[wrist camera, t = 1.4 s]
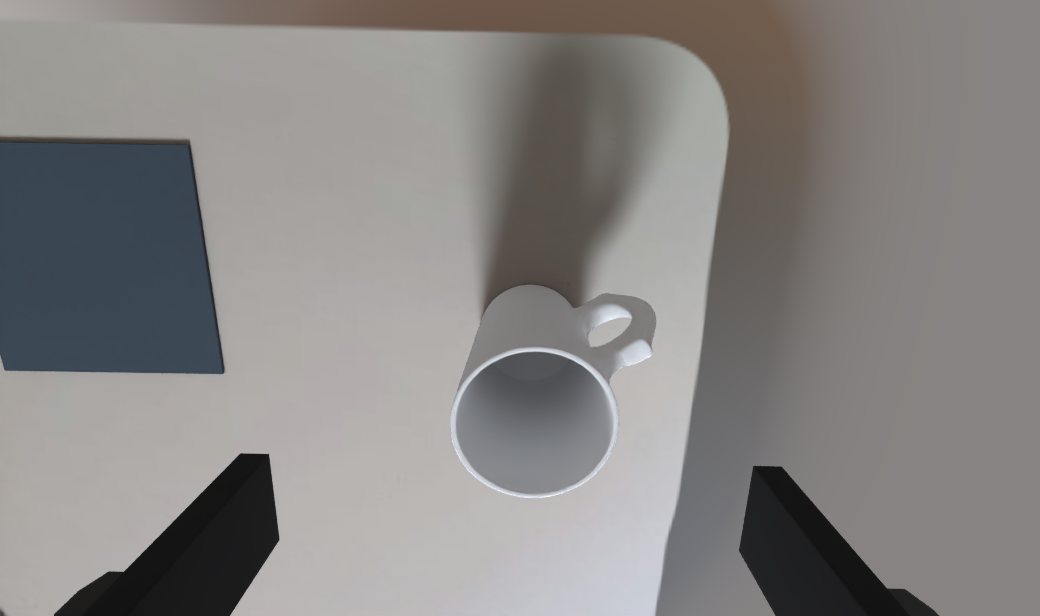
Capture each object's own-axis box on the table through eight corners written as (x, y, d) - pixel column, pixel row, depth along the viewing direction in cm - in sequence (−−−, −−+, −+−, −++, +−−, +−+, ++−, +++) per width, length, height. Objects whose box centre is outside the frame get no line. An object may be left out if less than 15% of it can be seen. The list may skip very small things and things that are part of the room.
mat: (189, 145, 29) (187, 145, 29) (224, 372, 33) (222, 374, 32) (-56, 141, 29) (-60, 141, 29) (7, 369, 33) (4, 370, 32)
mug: (512, 399, 33) (507, 524, 21) (454, 316, 32) (416, 402, 20) (648, 321, 32) (722, 410, 20) (595, 229, 30) (641, 268, 18)
